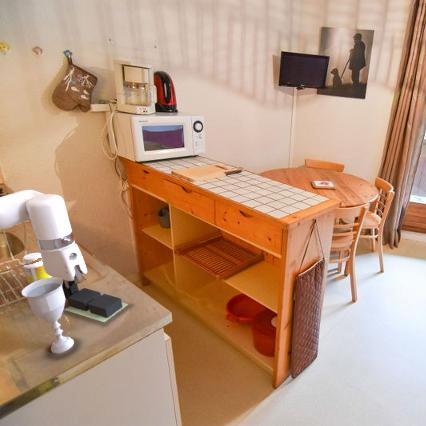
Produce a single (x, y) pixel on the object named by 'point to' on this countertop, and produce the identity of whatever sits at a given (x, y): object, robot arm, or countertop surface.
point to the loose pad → (83, 298)
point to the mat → (91, 315)
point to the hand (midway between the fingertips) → (72, 296)
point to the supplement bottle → (34, 268)
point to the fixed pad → (105, 305)
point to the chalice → (49, 307)
